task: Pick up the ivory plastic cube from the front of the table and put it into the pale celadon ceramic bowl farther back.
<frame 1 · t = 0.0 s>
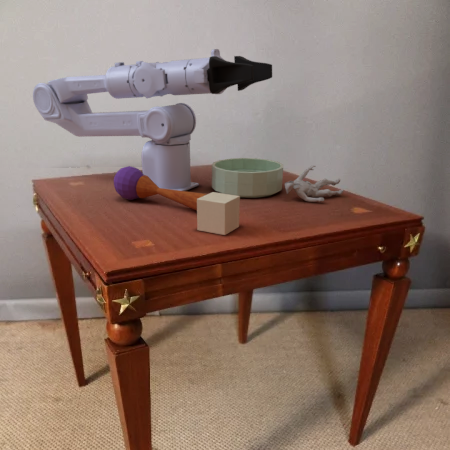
hand: (262, 71, 84), 22 cm above the table, tool horizontal, fingers open, 7 cm apart
bowl: (246, 190, 102), on the table
purple wooden maraca: (160, 205, 92), on the table
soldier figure: (313, 198, 97), on the table
cube: (218, 228, 80), on the table
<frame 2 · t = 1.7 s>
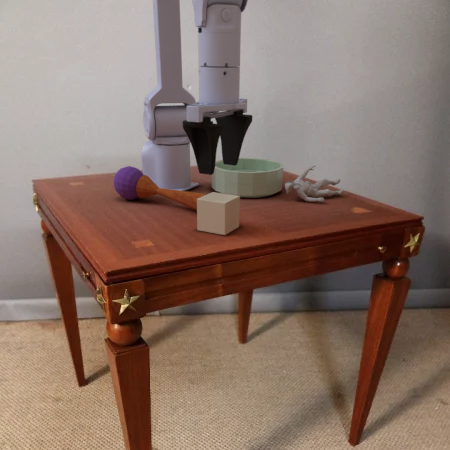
hand: (218, 169, 75), 9 cm above the table, tool pointing down, fingers open, 7 cm apart
nothing on the table moved.
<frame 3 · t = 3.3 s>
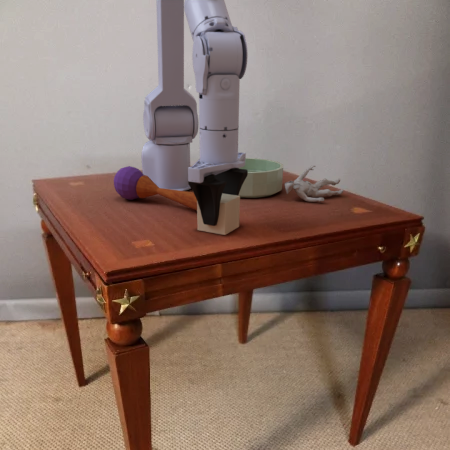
hand: (218, 219, 79), 1 cm above the table, tool pointing down, fingers closed on cube, 5 cm apart
cube: (218, 228, 80), on the table, touching gripper
everything else where it was.
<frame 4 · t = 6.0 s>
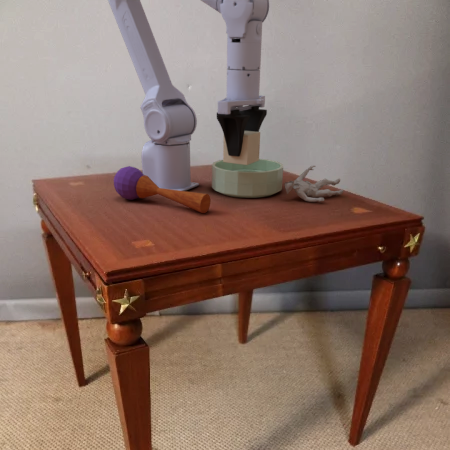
hand: (241, 153, 91), 8 cm above the table, tool pointing down, fingers closed on cube, 5 cm apart
cube: (241, 161, 92), point 7 cm above the table, touching gripper
everything else where it was.
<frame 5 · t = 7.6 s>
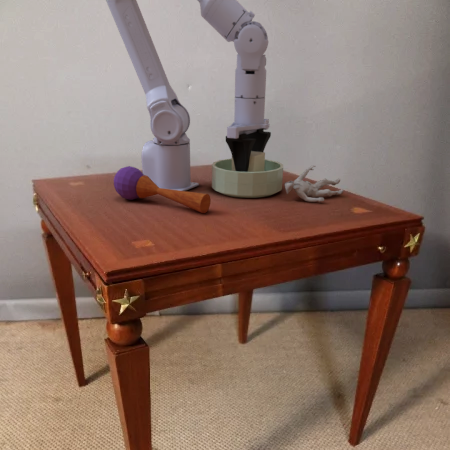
hand: (247, 172, 100), 4 cm above the table, tool pointing down, fingers closed on cube, 5 cm apart
cube: (247, 179, 101), point 2 cm above the table, touching gripper
everything else where it was.
when the fingers open (2 cm above the table, at t = 8.7 s): cube stays where it is, resting on bowl.
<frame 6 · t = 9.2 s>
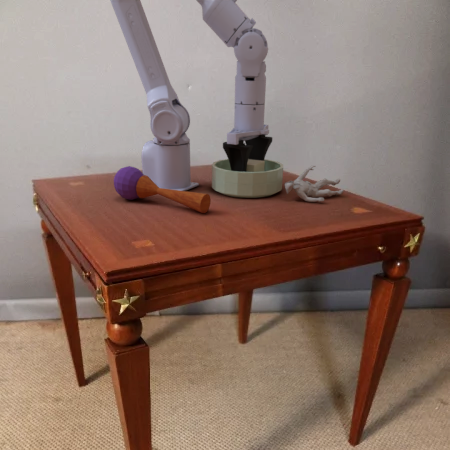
hand: (247, 177, 100), 3 cm above the table, tool pointing down, fingers open, 7 cm apart
cube: (247, 187, 101), point 1 cm above the table, touching bowl
everything else where it was.
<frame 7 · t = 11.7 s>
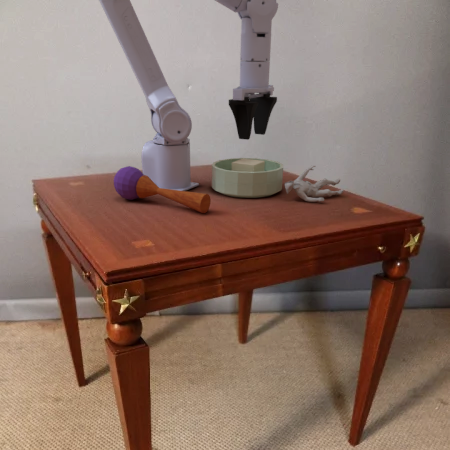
hand: (252, 136, 102), 9 cm above the table, tool pointing down, fingers open, 7 cm apart
nothing on the table moved.
at the end: cube inside the target area in the bowl (0.1 cm from its centre), point 0.6 cm above the bowl's base; the gripper is holding nothing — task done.
